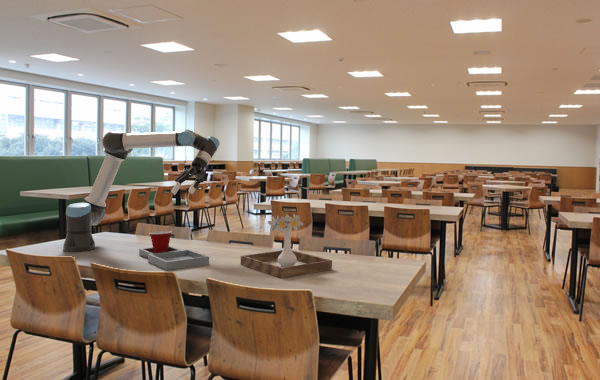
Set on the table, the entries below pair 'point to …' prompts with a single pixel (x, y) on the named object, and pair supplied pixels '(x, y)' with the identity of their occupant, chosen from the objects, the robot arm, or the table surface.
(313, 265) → the frame
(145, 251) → the square collar
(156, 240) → the plastic cup
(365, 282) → the table surface
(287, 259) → the flower vase
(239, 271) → the table surface
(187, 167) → the robot arm
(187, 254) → the tray
